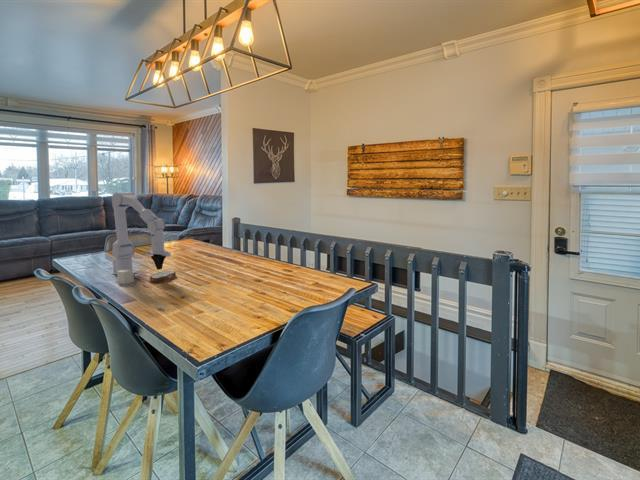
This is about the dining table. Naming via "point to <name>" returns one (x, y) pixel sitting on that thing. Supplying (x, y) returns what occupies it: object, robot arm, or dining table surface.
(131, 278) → the grey block
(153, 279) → the tin
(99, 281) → the dining table surface
